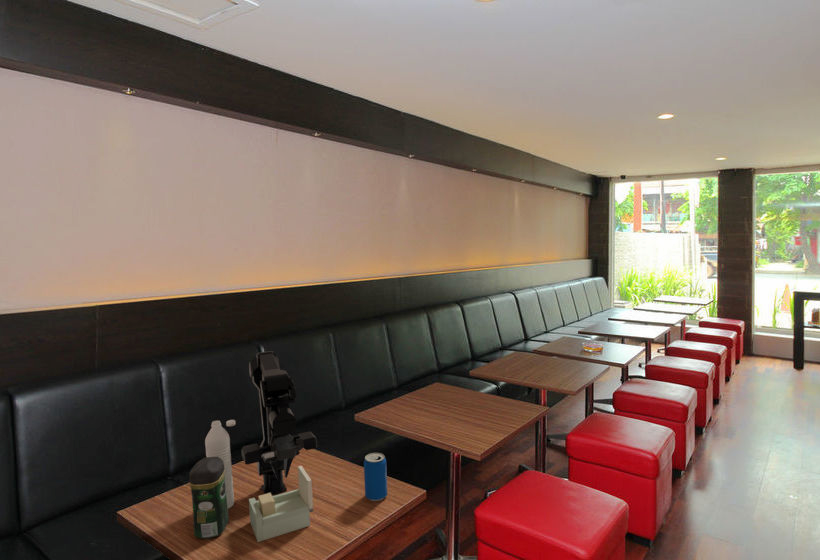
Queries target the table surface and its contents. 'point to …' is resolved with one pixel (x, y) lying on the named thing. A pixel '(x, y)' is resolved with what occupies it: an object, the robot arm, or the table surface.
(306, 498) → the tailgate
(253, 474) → the table surface
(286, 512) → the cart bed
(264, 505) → the block
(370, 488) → the beverage can
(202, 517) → the coffee jar
